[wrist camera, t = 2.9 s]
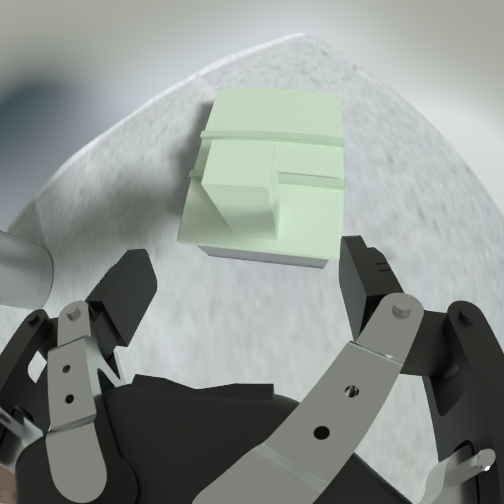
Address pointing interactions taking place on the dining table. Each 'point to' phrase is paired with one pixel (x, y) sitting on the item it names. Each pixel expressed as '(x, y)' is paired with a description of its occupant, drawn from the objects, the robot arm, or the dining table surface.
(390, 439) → the dining table surface
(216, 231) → the lid
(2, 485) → the brown faceted pot
